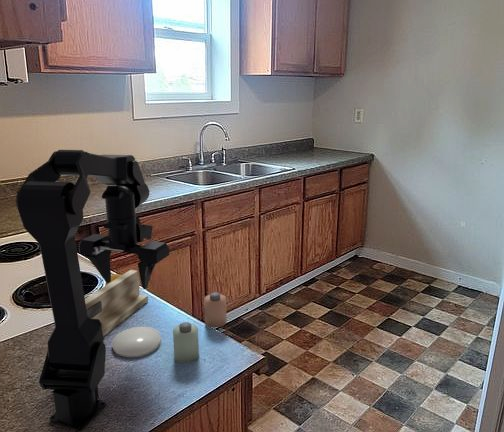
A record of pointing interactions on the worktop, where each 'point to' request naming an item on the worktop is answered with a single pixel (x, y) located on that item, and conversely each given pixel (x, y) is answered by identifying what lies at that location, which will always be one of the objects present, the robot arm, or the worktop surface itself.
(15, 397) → the worktop surface
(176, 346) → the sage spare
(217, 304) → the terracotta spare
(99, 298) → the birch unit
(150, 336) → the ceramic plate
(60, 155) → the robot arm
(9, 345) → the worktop surface
